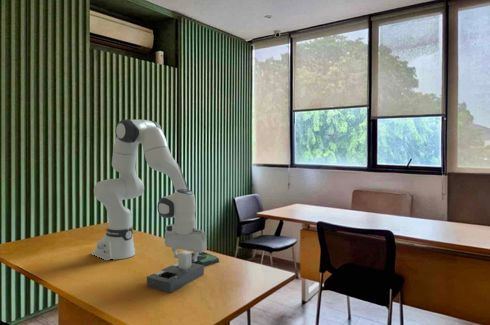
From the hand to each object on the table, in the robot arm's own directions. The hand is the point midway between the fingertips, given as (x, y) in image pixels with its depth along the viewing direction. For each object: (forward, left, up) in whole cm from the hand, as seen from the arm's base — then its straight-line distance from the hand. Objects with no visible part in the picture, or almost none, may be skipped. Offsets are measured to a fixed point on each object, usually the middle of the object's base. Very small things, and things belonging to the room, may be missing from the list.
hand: (185, 259), depth 147 cm
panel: (0, -5, -7) cm, 9 cm away
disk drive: (-5, +20, -8) cm, 22 cm away
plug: (0, 0, -7) cm, 7 cm away
